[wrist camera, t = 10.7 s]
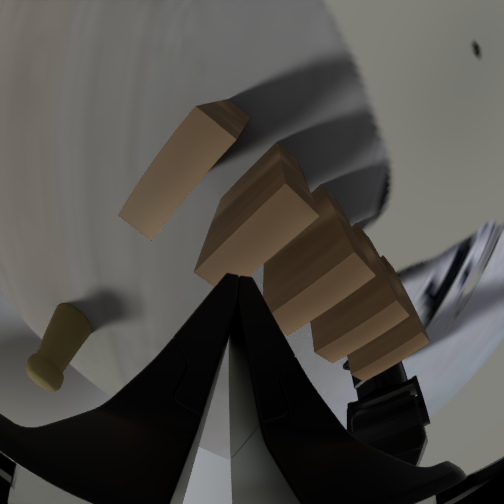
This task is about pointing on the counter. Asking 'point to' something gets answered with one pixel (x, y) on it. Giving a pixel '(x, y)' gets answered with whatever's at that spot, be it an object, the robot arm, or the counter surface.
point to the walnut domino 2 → (257, 217)
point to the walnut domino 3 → (315, 267)
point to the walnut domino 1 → (182, 164)
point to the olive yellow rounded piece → (58, 347)
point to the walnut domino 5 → (390, 340)
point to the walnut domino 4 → (359, 311)
